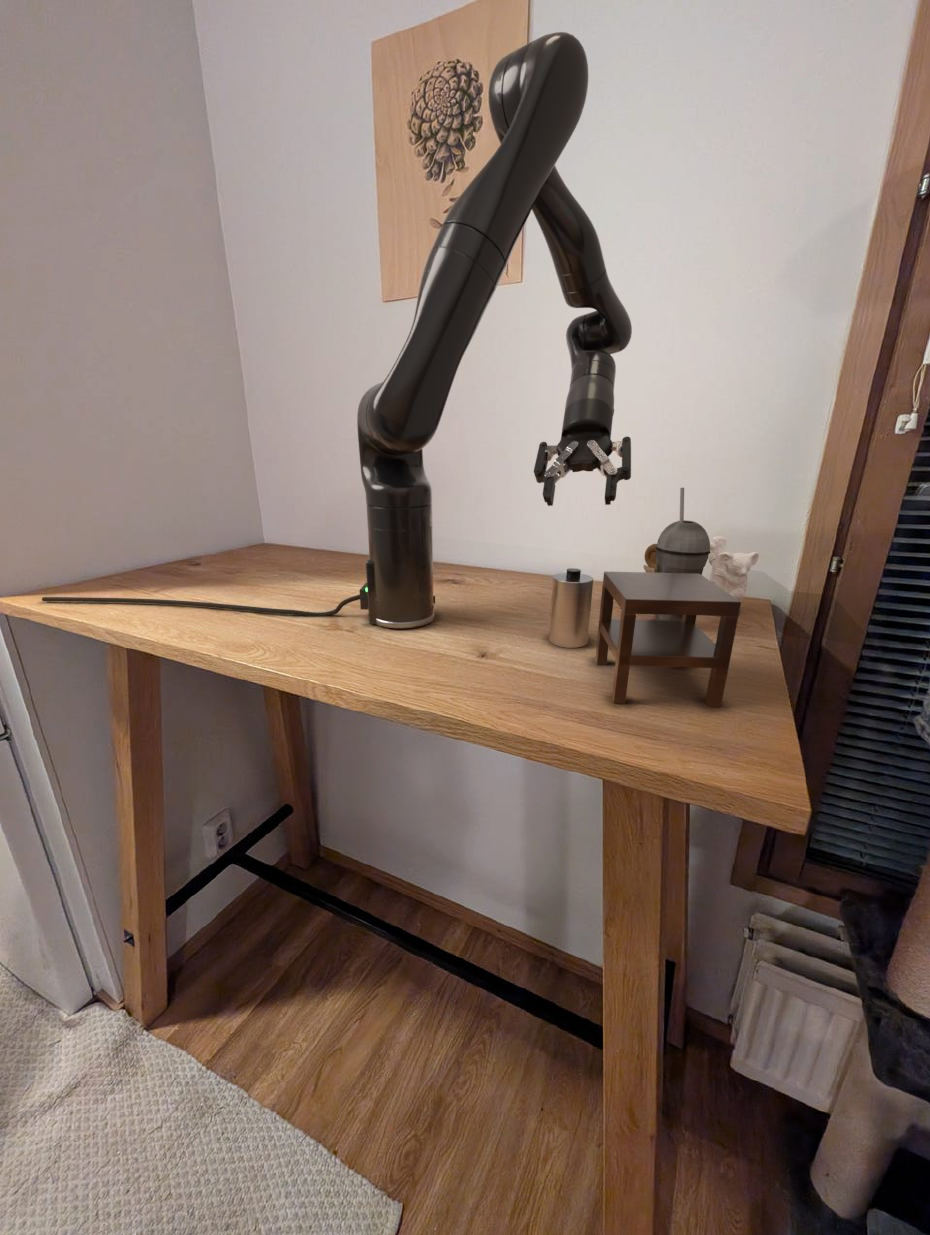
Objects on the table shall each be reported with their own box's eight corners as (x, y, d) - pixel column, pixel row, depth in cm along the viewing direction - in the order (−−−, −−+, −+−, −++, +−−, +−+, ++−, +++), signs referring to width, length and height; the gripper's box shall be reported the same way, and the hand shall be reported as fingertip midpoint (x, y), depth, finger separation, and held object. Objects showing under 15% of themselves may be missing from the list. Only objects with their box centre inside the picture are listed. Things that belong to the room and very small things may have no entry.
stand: (613, 703, 54) (625, 599, 50) (595, 660, 64) (603, 571, 61) (721, 707, 54) (741, 601, 50) (684, 663, 64) (699, 573, 60)
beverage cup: (702, 637, 72) (727, 491, 66) (648, 632, 74) (667, 489, 67) (691, 620, 79) (713, 486, 73) (642, 616, 81) (659, 484, 74)
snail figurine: (658, 615, 81) (669, 539, 77) (626, 604, 86) (635, 533, 82) (680, 609, 84) (692, 536, 80) (648, 599, 89) (657, 530, 85)
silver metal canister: (550, 647, 68) (555, 574, 65) (547, 633, 73) (551, 564, 70) (590, 648, 68) (597, 575, 65) (584, 634, 73) (590, 565, 70)
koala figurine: (689, 613, 82) (701, 538, 78) (690, 601, 88) (701, 531, 84) (749, 620, 79) (765, 543, 75) (745, 608, 85) (760, 535, 81)
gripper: (539, 400, 81) (525, 489, 76) (635, 391, 76) (627, 486, 71) (547, 432, 87) (535, 516, 82) (636, 426, 82) (628, 515, 77)
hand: (577, 502), depth 76 cm, fingers open, 8 cm apart
